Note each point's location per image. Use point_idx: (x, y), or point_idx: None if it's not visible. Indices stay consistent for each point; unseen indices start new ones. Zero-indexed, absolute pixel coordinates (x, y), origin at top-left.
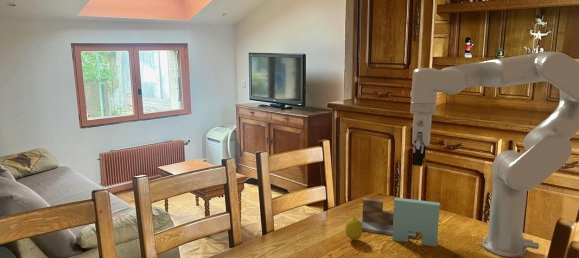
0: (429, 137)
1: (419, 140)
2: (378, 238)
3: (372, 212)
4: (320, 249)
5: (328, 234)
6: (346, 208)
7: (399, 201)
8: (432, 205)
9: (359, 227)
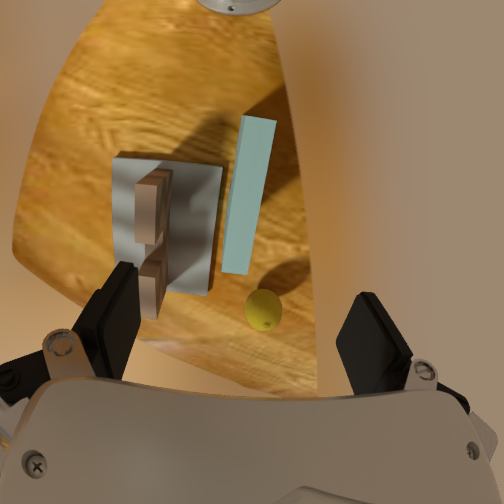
0: (427, 482)
1: (490, 452)
2: None
3: (162, 280)
4: (305, 333)
5: (243, 331)
6: None
7: (249, 257)
8: (270, 146)
9: (277, 305)
